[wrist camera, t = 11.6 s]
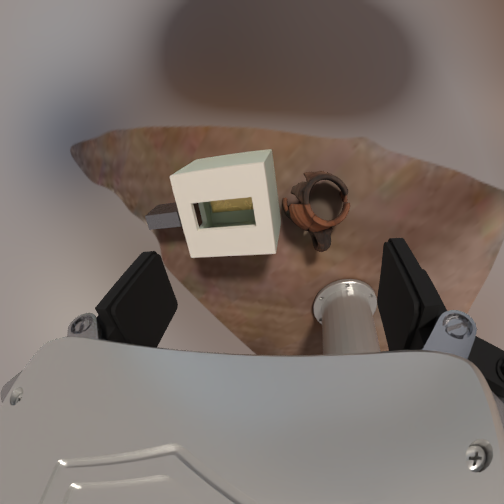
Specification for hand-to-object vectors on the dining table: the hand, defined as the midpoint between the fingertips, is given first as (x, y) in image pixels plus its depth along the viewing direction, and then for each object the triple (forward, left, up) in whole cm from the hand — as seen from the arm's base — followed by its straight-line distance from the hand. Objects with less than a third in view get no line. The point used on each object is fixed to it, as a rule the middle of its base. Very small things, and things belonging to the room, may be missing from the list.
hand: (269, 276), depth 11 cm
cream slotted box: (-6, +9, -32) cm, 34 cm away
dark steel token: (-8, +21, -32) cm, 39 cm away
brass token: (-6, +9, -32) cm, 33 cm away
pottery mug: (-9, -3, -33) cm, 34 cm away
